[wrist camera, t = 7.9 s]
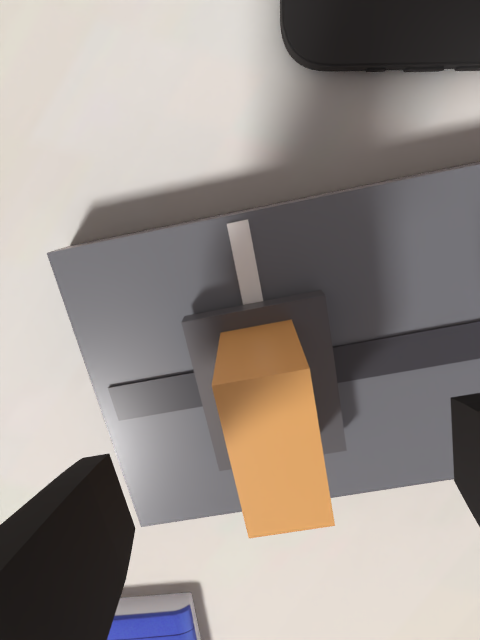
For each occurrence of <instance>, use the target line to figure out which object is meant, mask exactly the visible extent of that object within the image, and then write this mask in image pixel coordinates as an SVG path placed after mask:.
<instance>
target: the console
mask: <svg viewBox="0 0 480 640" xmlns="http://www.w3.org/2000/svg"><path fill="white" fill-rule="evenodd" d="M47 255H48V258H49V261H50V264H51V267H52V270H53V272H54V275H55V278H56V281H57V284H58V287H59V290H60V293H61V296H62V299H63V302H64V304H65V307H66V310H67V313H68V316H69V319H70V322H71V325H72V328H73V331H74V333H75V336H76V339H77V342H78V345H79V348H80V351H81V354H82V357H83V360H84V363H85V365H86V368H87V371H88V374H89V377H90V380H91V383H92V386H93V389H94V392H95V394H96V397H97V400H98V403H99V406H100V409H101V412H102V415H103V418H104V421H105V424H106V426H107V429H108V432H109V435H110V438H111V441H112V444H113V447H114V450H115V453H116V455H117V458H118V461H119V464H120V467H121V470H122V473H123V476H124V479H125V482H126V485H127V487H128V490H129V493H130V496H131V499H132V502H133V505H134V508H135V511H136V514H137V517H138V519H139V522H140V525H141V527H144V526H151V525H157V524H164V523H170V522H177V521H183V520H190V519H196V518H203V517H209V516H216V515H222V514H229V513H235V512H242V508H241V504H240V500H239V496H238V492H237V488H236V483H235V479H234V475H233V471H232V469H230V470H224V471H219V468H218V464H217V460H216V456H215V452H214V448H213V444H212V440H211V437H210V433H209V429H208V425H207V421H206V417H205V413H204V409H203V405H202V401H201V397H200V394H199V390H198V386H197V382H196V378H195V374H194V370H193V366H192V362H191V358H190V355H189V351H188V347H187V343H186V339H185V335H184V331H183V327H182V323H181V322H182V320H183V318H184V316H187V315H192V314H198V313H203V312H208V311H214V310H219V309H224V308H229V307H235V306H240V305H245V304H251V303H256V302H261V301H266V300H272V299H277V298H282V297H288V296H293V295H298V294H303V293H309V292H314V291H319V290H322V292H323V293H324V294H325V296H326V303H327V311H328V318H329V325H330V332H331V340H332V347H333V354H334V361H335V369H336V376H337V383H338V390H339V397H340V405H341V412H342V419H343V426H344V434H345V441H346V448H347V451H342V452H336V453H329V454H323V455H324V461H325V467H326V473H327V480H328V486H329V492H330V498H333V497H340V496H346V495H353V494H359V493H366V492H372V491H379V490H385V489H392V488H398V487H405V486H411V485H418V484H425V483H431V482H438V481H444V480H451V479H454V465H453V443H452V421H451V399H450V398H451V397H457V396H463V395H469V394H475V393H480V162H476V163H471V164H466V165H461V166H456V167H451V168H447V169H442V170H437V171H432V172H427V173H422V174H417V175H413V176H408V177H403V178H398V179H393V180H388V181H383V182H378V183H374V184H369V185H364V186H359V187H354V188H349V189H344V190H340V191H335V192H330V193H325V194H320V195H315V196H310V197H306V198H301V199H296V200H291V201H286V202H281V203H276V204H271V205H267V206H262V207H257V208H252V209H247V210H242V211H237V212H233V213H228V214H223V215H218V216H213V217H208V218H203V219H199V220H194V221H189V222H184V223H179V224H174V225H169V226H164V227H160V228H155V229H150V230H145V231H140V232H135V233H130V234H126V235H121V236H116V237H111V238H106V239H101V240H96V241H92V242H87V243H82V244H77V245H72V246H68V247H65V248H61V249H58V250H55V251H52V252H49V253H47Z"/></svg>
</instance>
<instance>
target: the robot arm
mask: <svg viewBox="0 0 480 640" xmlns="http://www.w3.org/2000/svg"><path fill="white" fill-rule="evenodd" d="M450 399H451V421H452V443H453V465H454V481H455V483H456V485H457V487H458V489H459V491H460V492H461V494H462V496H463V498H464V500H465V502H466V504H467V505H468V507H469V509H470V511H471V512H472V514H473V516H474V518H475V519H476V521H477V523H478V525H479V526H480V393H475V394H469V395H463V396H457V397H451V398H450ZM134 533H135V526H134V523H133V520H132V518H131V515H130V512H129V509H128V506H127V503H126V500H125V498H124V495H123V492H122V489H121V486H120V483H119V480H118V477H117V475H116V472H115V469H114V466H113V463H112V460H111V457H110V455H109V454H104V455H98V456H92V457H86V458H82V459H80V460H79V461H77V462H76V463H75V464H73V465H72V466H71V467H69V468H68V469H67V470H65V471H64V472H63V473H62V474H60V475H59V476H58V477H57V478H56V479H54V480H53V481H52V482H51V483H50V484H48V485H47V486H46V487H45V488H44V489H42V490H41V491H40V492H39V493H38V494H37V495H35V496H34V497H33V498H32V499H31V500H29V501H28V502H27V503H26V504H25V505H24V506H22V507H21V508H20V509H19V510H18V511H16V512H15V513H14V514H13V515H12V516H10V517H9V518H8V519H7V520H6V521H5V522H3V523H2V524H1V525H0V640H107V638H108V635H109V632H110V629H111V626H112V622H113V619H114V616H115V613H116V609H117V606H118V603H119V600H120V597H121V593H122V590H123V587H124V583H125V580H126V576H127V571H128V566H129V561H130V556H131V550H132V544H133V539H134Z"/></svg>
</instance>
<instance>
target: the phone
mask: <svg viewBox="0 0 480 640" xmlns="http://www.w3.org/2000/svg"><path fill="white" fill-rule="evenodd" d="M280 25H281V33H282V38H283V41H284V44H285V47H286V49H287V51H288V53H289V54H290V55H291V57H292V58H293V59H294V60H295V61H296V62H297V63H299V64H300V65H302V66H304V67H306V68H309V69H312V70H318V71H366V72H383V71H385V70H404V72H431V71H443V70H444V69H455V71H480V0H280Z"/></svg>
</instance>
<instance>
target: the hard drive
mask: <svg viewBox="0 0 480 640" xmlns="http://www.w3.org/2000/svg"><path fill="white" fill-rule="evenodd" d="M107 640H201V636H200V632H199V627H198V622H197V617H196V613H195V607H194V602H193V598H192V593H191V592H186V593H174V594H162V595H149V596H137V597H124V598H120V600H119V603H118V606H117V609H116V613H115V616H114V619H113V622H112V626H111V629H110V632H109V635H108V638H107Z"/></svg>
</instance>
